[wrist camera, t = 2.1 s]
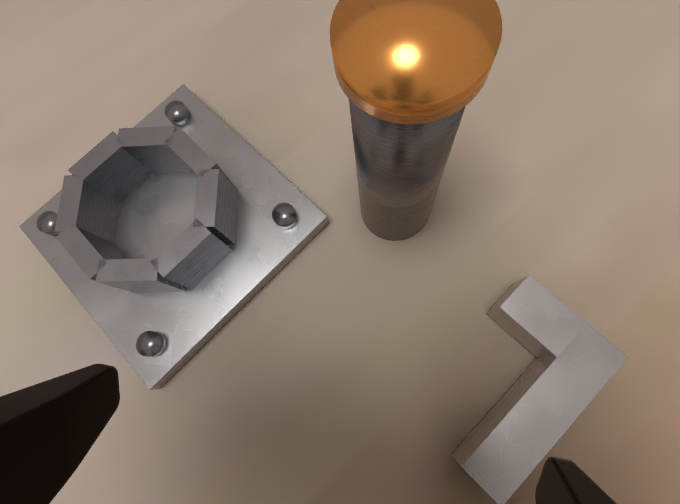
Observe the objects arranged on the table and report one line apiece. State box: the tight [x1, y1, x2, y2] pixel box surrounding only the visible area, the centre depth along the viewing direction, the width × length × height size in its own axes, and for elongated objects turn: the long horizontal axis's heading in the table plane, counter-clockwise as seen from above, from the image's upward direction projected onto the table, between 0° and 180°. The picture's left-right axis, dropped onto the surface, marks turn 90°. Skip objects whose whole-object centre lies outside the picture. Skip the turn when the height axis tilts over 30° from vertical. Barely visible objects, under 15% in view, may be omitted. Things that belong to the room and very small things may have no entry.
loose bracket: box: [451, 275, 628, 504], centre depth 18 cm, size 5×8×2 cm, turn 135°
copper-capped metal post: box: [330, 0, 502, 241], centre depth 16 cm, size 4×4×12 cm
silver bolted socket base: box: [19, 84, 329, 389], centre depth 21 cm, size 12×12×4 cm
